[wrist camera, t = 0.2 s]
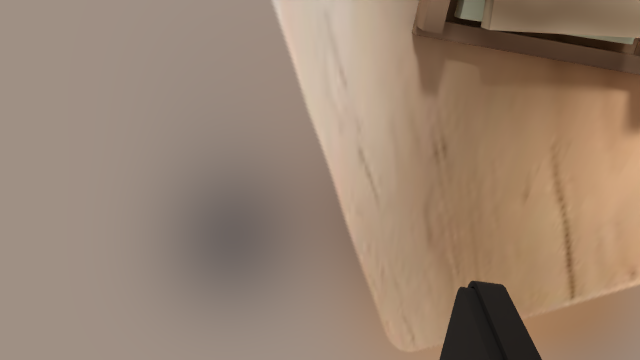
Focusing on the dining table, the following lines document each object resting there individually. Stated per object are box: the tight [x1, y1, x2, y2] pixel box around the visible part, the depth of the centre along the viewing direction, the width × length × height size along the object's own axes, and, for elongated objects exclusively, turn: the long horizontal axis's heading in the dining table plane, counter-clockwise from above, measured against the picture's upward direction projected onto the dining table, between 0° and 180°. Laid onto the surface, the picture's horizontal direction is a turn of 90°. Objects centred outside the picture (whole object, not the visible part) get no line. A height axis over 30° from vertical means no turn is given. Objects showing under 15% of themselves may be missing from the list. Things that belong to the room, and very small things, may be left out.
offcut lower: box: [454, 0, 635, 45], centre depth 35 cm, size 4×12×2 cm, turn 82°
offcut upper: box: [481, 0, 640, 38], centre depth 33 cm, size 4×10×2 cm, turn 87°
